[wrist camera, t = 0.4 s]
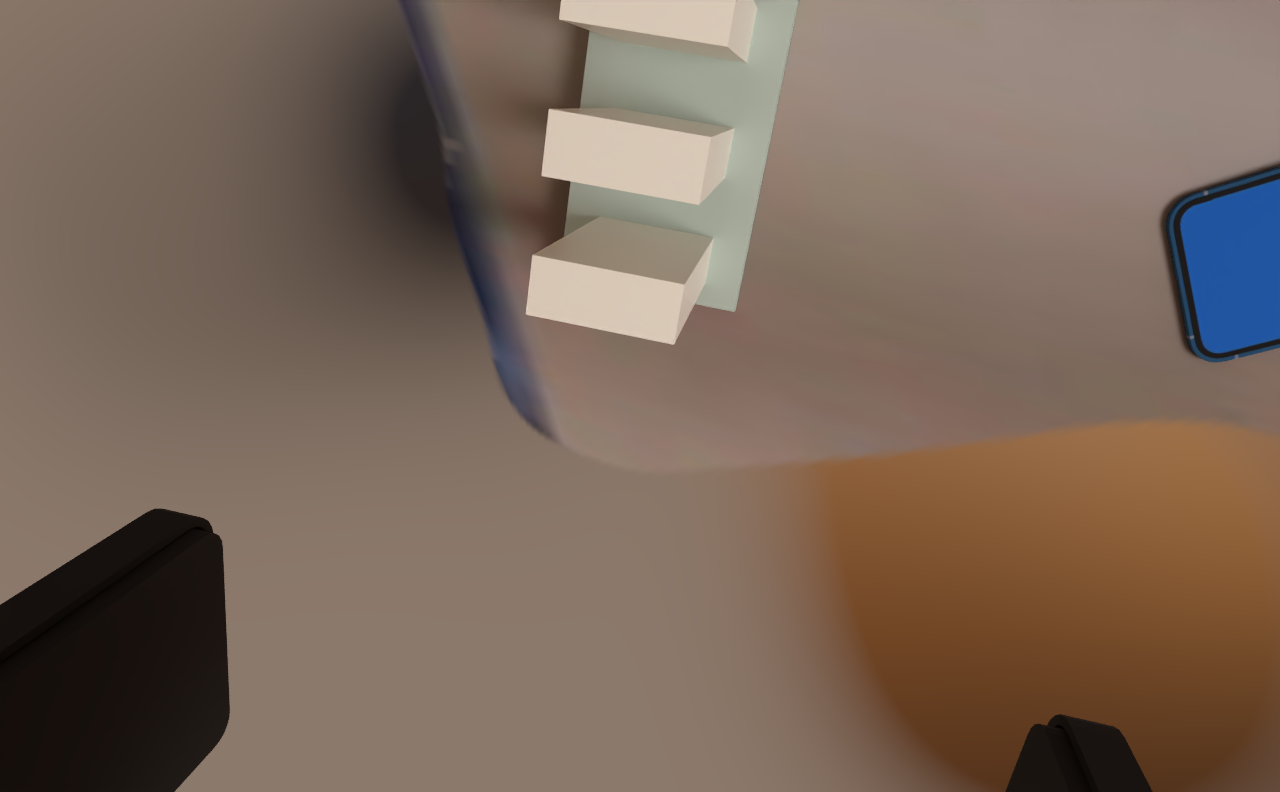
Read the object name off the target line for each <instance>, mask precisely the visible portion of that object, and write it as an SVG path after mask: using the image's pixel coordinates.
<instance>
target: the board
mask: <svg viewBox="0 0 1280 792" xmlns="http://www.w3.org/2000/svg"><path fill="white" fill-rule="evenodd" d="M754 2H755V4H756V7H757V12H756V17H755V22H754V28H753V33H752V38H751V43H750V49H749V54H748V59H747V63H743V62H737V61H731V60H725V59H719V58H713V57H707V56H701V55H695V54H689V53H683V52H676V51H670V50H664V49H658V48H652V47H646V46H640V45H634V44H628V43H623V42H620V41H618V40H615V39H612V38H609V37H607V36H604V35H601V34H598V33H595V32H593V31H589V39H588V47H587V55H586V63H585V71H584V79H583V87H582V95H581V103H580V108H620V109H626V110H632V111H638V112H643V113H649V114H655V115H661V116H666V117H672V118H678V119H684V120H690V121H695V122H701V123H707V124H713V125H718V126H724V127H730V128H734V133H733V139H732V144H731V149H730V155H729V160H728V165H727V171H726V176H725V179H724V180H723V181H722V182H721V183H720V184H719V185H718V186H717V187H716V188H715V189H714V190H713V191H712V192H711V193H710V194H709V195H708V196H707V197H706V198H705V199H704V200H703V201H702V202H701V203H700V204H699V205H696V204H691V203H685V202H680V201H675V200H669V199H664V198H658V197H653V196H648V195H642V194H637V193H631V192H626V191H620V190H615V189H610V188H604V187H599V186H593V185H588V184H582V183H577V182H572V181H571V183H570V191H569V199H568V207H567V215H566V223H565V231H564V237H565V236H567V235H568V234H570V233H572V232H574V231H575V230H577V229H579V228H581V227H582V226H584V225H586V224H588V223H589V222H591V221H593V220H595V219H596V218H598V217H600V216H602V217H607V218H613V219H618V220H623V221H629V222H634V223H639V224H644V225H650V226H655V227H660V228H666V229H671V230H676V231H682V232H687V233H692V234H698V235H703V236H708V237H713V238H714V239H713V245H712V250H711V255H710V261H709V266H708V271H707V276H706V282H705V285H704V287H703V288H702V290H701V292H700V294H699V296H698V298H697V300H696V302H695V304H698V305H703V306H708V307H713V308H718V309H723V310H728V311H733V312H735V309H736V306H737V301H738V296H739V291H740V286H741V281H742V277H743V272H744V267H745V262H746V257H747V252H748V247H749V242H750V237H751V233H752V228H753V223H754V218H755V213H756V208H757V203H758V198H759V193H760V188H761V184H762V179H763V174H764V169H765V164H766V159H767V154H768V149H769V144H770V140H771V135H772V130H773V125H774V120H775V115H776V110H777V105H778V100H779V96H780V91H781V86H782V81H783V76H784V71H785V66H786V61H787V56H788V52H789V47H790V42H791V37H792V32H793V27H794V22H795V17H796V12H797V7H798V3H799V0H754Z"/></svg>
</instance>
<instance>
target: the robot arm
mask: <svg viewBox="0 0 1280 792" xmlns="http://www.w3.org/2000/svg"><path fill="white" fill-rule="evenodd" d="M229 711H230V705H229V683H228V658H227V635H226V612H225V589H224V565H223V546H222V540H221V539H220V537H219V536H218V535H217V534H215V533H213V530H212V526H211V525H210V523H209V521H207V520H206V519H204V518H201V517H197V516H192V515H188V514H183V513H179V512H175V511H170V510H166V509H153V510H151V511H149V512H147V513H145V514H143V515H142V516H140V517H139V518H137V519H135V520H134V521H132V522H131V523H129V524H127V525H126V526H124V527H123V528H121V529H120V530H118V531H116V532H115V533H113V534H112V535H110V536H108V537H107V538H105V539H104V540H102V541H101V542H99V543H97V544H96V545H94V546H93V547H91V548H89V549H88V550H86V551H85V552H84V553H82V554H80V555H78V556H77V557H75V558H74V559H72V560H70V561H69V562H67V563H66V564H64V565H63V566H61V567H59V568H58V569H56V570H55V571H53V572H51V573H50V574H48V575H47V576H45V577H44V578H42V579H41V580H39V581H37V582H36V583H34V584H32V585H31V586H29V587H28V588H26V589H25V590H23V591H22V592H20V593H19V594H17V595H15V596H14V597H12V598H10V599H9V600H7V601H6V602H4V603H2V604H1V605H0V792H175V791H176V789H177V788H178V787H179V786H180V785H181V784H182V783H183V782H184V780H185V779H186V778H187V777H188V776H189V775H190V774H191V773H192V772H193V771H194V769H195V768H196V767H197V766H198V765H199V764H200V763H201V762H202V761H203V760H204V758H205V757H206V756H207V755H208V754H209V753H210V752H211V751H212V750H213V748H214V747H215V746H216V745H217V743H218V742H219V741H220V739H221V737H222V736H223V734H224V732H225V729H226V726H227V724H228V720H229V713H230V712H229ZM1006 792H1152V790H1151V788H1150V786H1149V784H1148V782H1147V780H1146V778H1145V776H1144V774H1143V772H1142V770H1141V768H1140V767H1139V765H1138V763H1137V761H1136V759H1135V757H1134V755H1133V753H1132V751H1131V749H1130V747H1129V745H1128V743H1127V741H1126V739H1125V737H1124V736H1123V735H1122V734H1121V732H1120V730H1119V729H1117V728H1115V727H1113V726H1109V725H1105V724H1101V723H1096V722H1091V721H1087V720H1083V719H1079V718H1074V717H1070V716H1065V715H1061V714H1060V715H1055V716H1054V717H1053V718H1052V719H1051V720H1050V721H1049V723H1048V725H1047V726H1046V725H1042V724H1035V725H1034V726H1033V727H1032V728H1031V729H1030V731H1029V733H1028V736H1027V738H1026V740H1025V743H1024V746H1023V748H1022V751H1021V753H1020V756H1019V758H1018V761H1017V763H1016V766H1015V769H1014V771H1013V774H1012V777H1011V779H1010V781H1009V784H1008V787H1007V789H1006Z"/></svg>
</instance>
